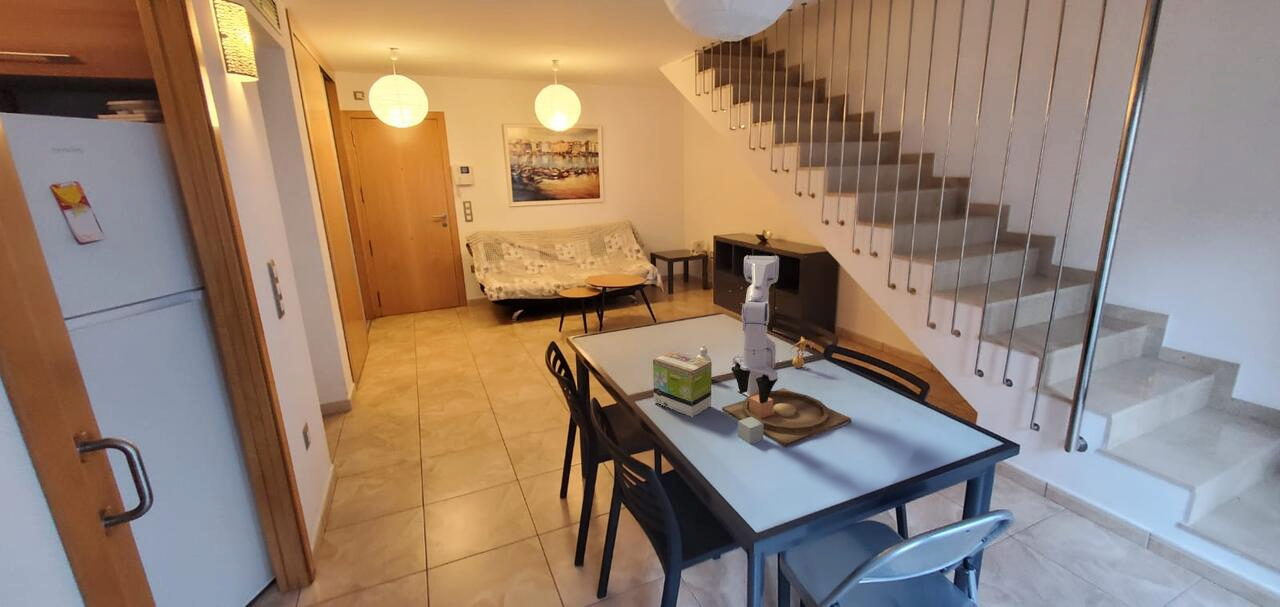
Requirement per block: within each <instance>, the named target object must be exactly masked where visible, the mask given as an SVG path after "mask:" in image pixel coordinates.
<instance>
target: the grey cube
mask: <svg viewBox="0 0 1280 607" xmlns="http://www.w3.org/2000/svg"><path fill="white" fill-rule="evenodd" d="M763 424H764V423H762V422H760V421H758V420H756V419H755V418H753V417H749V418H746V419H743V420H740V421H739V420H738V421H737V438H739V439H741V440H742V441H744V442H745V443H747V444H749V445H751V444H754V443H757V442H759V441H761V440H763V439H764V435H763Z"/></svg>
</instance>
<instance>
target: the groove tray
mask: <svg viewBox="0 0 1280 607" xmlns="http://www.w3.org/2000/svg"><path fill="white" fill-rule="evenodd" d="M756 395H759V393H757V394H753V395H750V396H749V397H748V396H747V397H746V399H744V400H741V401H738V402H735V403H731V404H728V405H726V406H722V407H721V411H722V410H723V411H724V413H725V412H726V413H725V414H727V413H728V414H727V415H729V416H730V415H731V416H730V417H733V418H734V419H735V420H738V421H740V420H743V419H746V418H749V417H753V418H755V419H756V420H758V421H760V422H762V423H764V424H763V436H765V437H767V438H768V439H770V440H772V441H773V442H776V443H777V444H779V445H781V446H782V447H783V448H787V447H789V446H793V445H795V444H798V443H800V442H803V441H806V440H807V439H810V438H813V437H815V436H818V435H820V434H823V433H825V432H828V431H830V430H833V429H836V428H838V427H841V426H842V425H846V424H849V423H850V422H851V421H852V418H851V417H849V416H847V415H845V414H843V413H840V412H838V411H836V410H834V409H831V408H829V407H828V406H826V405H825V404H824V403H823V402H822V401H821V400H819V399H816V398H814V397H812V396H810V395H807V394H803V393H799V392H795V391H792V390H789V389H787V388H785V387H783V388H780V389H776V390H771V392H770V395H769V398H771V399H773V414H772V415H770V416H767V417H764V418H761V419H760V418H758V417H756V416H754V415H753V414H751V413H750V412H749V398H750V397H753V396H756ZM723 411H722V412H723Z"/></svg>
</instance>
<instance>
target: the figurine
mask: <svg viewBox="0 0 1280 607" xmlns="http://www.w3.org/2000/svg"><path fill="white" fill-rule="evenodd" d="M807 344H810V346H809V348H810V349H813V343H812V342H811V341H808V340H806V339H805V338H804V336H801V337H800V340H799V341H798V342H797V343H795V344H794V345H793V346H792V347H791V348H790V350H789V352H791V351H792V350H793V349H794V348H795V347H796V346H799V347H798V348H797V349H796V350H795V351H796V355H797V356H795V357H794V358H793V359H792V365H793V367H794V368H798V369H800V368H803V367H804V365H805V360H804V358H803V356H804V351H805V350H806V346H807ZM800 352H801V356H800Z"/></svg>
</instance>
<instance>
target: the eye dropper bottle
mask: <svg viewBox="0 0 1280 607" xmlns="http://www.w3.org/2000/svg"><path fill="white" fill-rule="evenodd" d="M696 358H700V359H703V360H707V361H710V362H712V360H711V357H710V356H709V355H708V348H707V347H706V345H705V344H702V346H701V347H700V349H699V354H698V355H697V356H696Z"/></svg>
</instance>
